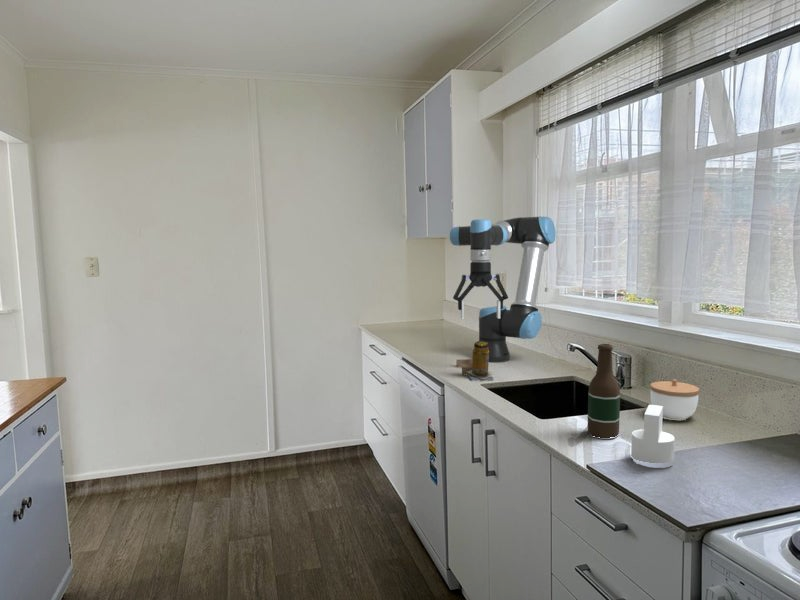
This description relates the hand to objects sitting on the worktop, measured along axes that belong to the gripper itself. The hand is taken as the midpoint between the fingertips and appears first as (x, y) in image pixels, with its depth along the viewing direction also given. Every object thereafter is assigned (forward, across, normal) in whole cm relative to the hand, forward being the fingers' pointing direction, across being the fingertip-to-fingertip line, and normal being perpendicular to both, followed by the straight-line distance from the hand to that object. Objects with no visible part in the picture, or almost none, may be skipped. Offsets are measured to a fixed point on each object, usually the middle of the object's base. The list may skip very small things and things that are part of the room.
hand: (480, 318), depth 207 cm
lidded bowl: (+23, +46, -52) cm, 73 cm away
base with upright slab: (+23, +24, -83) cm, 90 cm away
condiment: (+21, 0, 0) cm, 21 cm away
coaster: (+23, 0, 0) cm, 23 cm away
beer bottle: (+23, +20, -65) cm, 72 cm away
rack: (+23, -1, +13) cm, 26 cm away
